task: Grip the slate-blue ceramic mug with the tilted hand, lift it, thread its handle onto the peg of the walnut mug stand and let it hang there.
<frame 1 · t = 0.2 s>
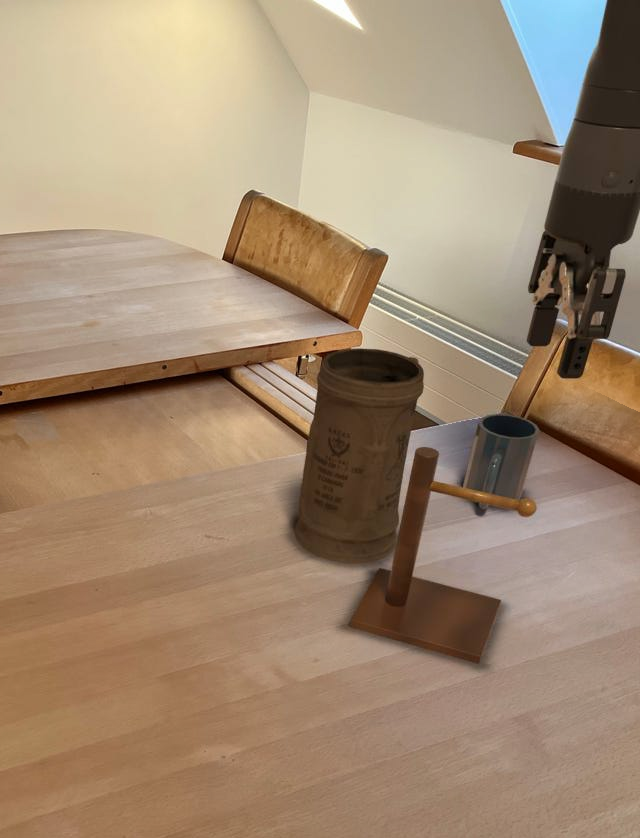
hand: (552, 360, 94), 19 cm above the table, tool pointing down, fingers open, 8 cm apart
mug: (489, 498, 112), on the table
mug stand: (393, 613, 93), on the table
beer stein: (351, 533, 105), on the table
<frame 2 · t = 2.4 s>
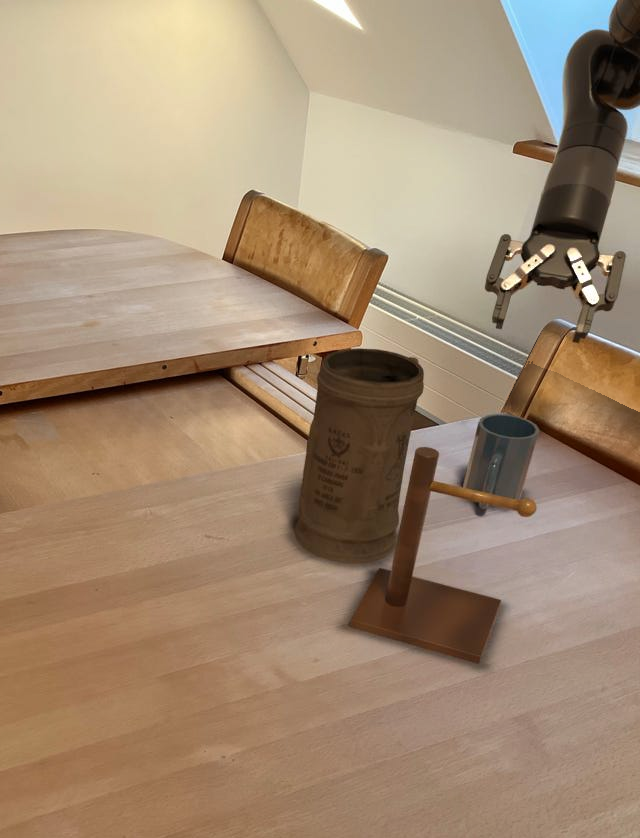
hand: (537, 332, 110), 16 cm above the table, tool tilted 45°, fingers open, 8 cm apart
nothing on the table moved.
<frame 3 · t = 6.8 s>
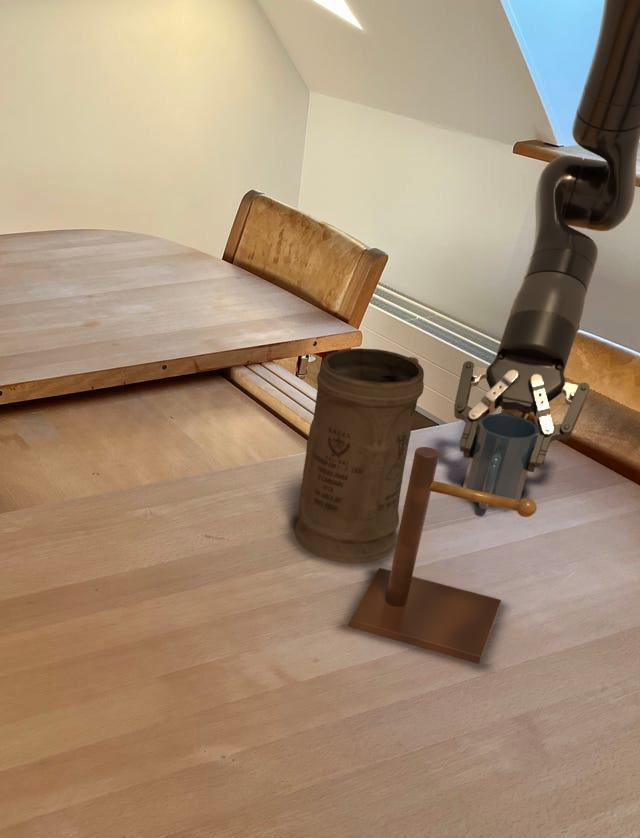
hand: (498, 461, 107), 5 cm above the table, tool tilted 45°, fingers closed on mug, 6 cm apart
mug: (489, 498, 112), on the table, touching gripper
everything else where it was.
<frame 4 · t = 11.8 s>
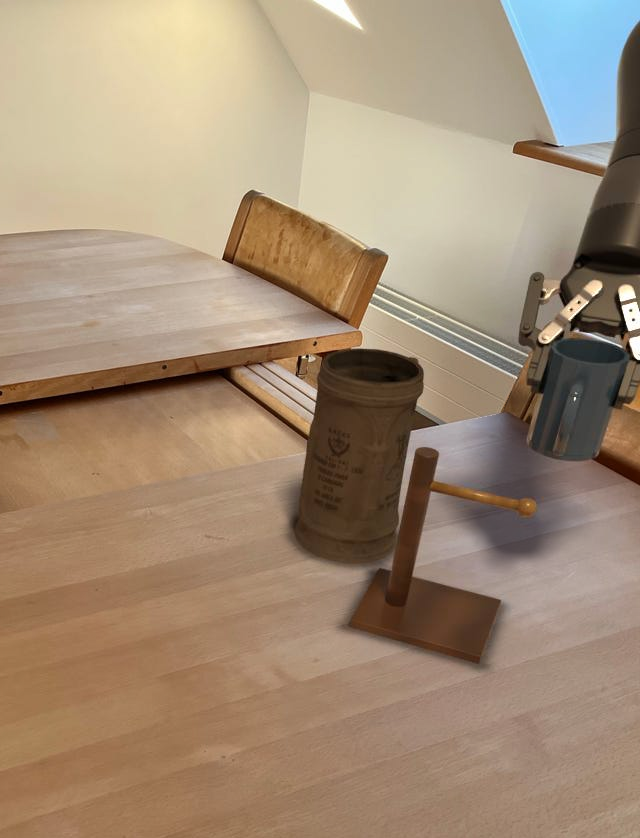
hand: (576, 397, 85), 20 cm above the table, tool tilted 45°, fingers closed on mug, 6 cm apart
mug: (562, 445, 89), point 15 cm above the table, touching gripper
everything else where it was.
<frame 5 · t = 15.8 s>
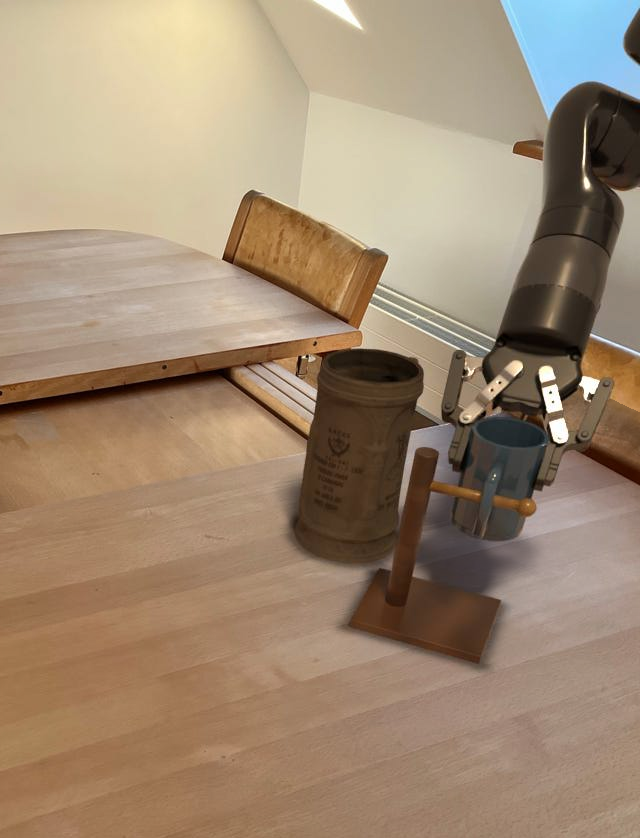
hand: (497, 478, 84), 15 cm above the table, tool tilted 45°, fingers closed on mug, 6 cm apart
mug: (486, 523, 89), point 9 cm above the table, touching gripper
everything else where it was.
when the fingers open (13 cm above the table, at t = 17.2 s): mug drops 2 cm and tips over, resting on mug stand.
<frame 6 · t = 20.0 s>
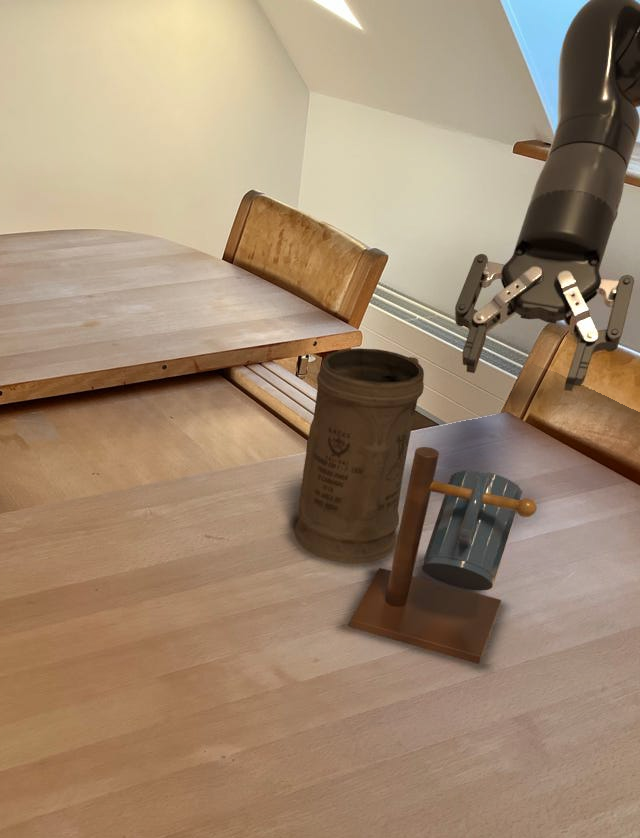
hand: (519, 378, 86), 21 cm above the table, tool tilted 45°, fingers open, 8 cm apart
mug: (456, 577, 87), point 6 cm above the table, tilted 48°, touching mug stand
everything else where it was.
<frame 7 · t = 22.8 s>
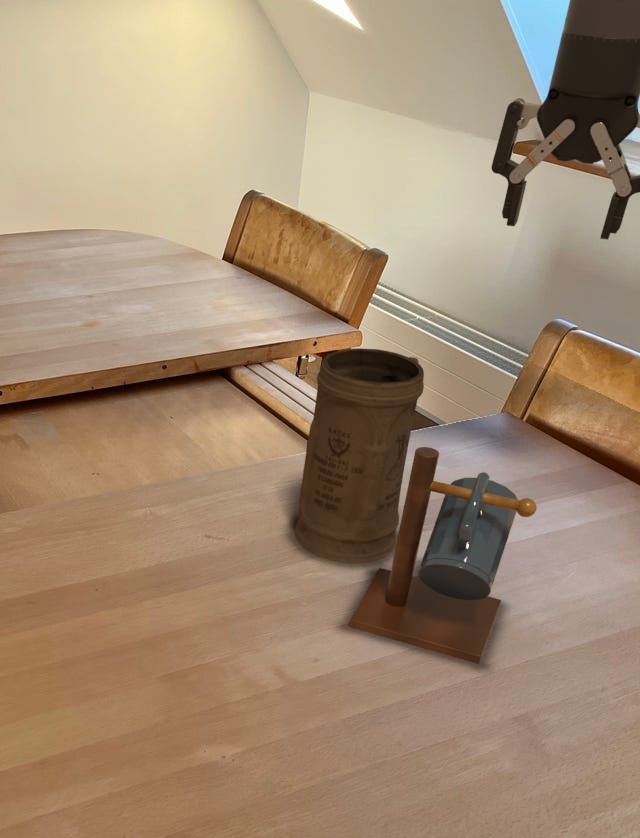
hand: (557, 230, 92), 30 cm above the table, tool pointing down, fingers open, 8 cm apart
mug: (454, 582, 86), point 6 cm above the table, tilted 57°, touching mug stand
everything else where it was.
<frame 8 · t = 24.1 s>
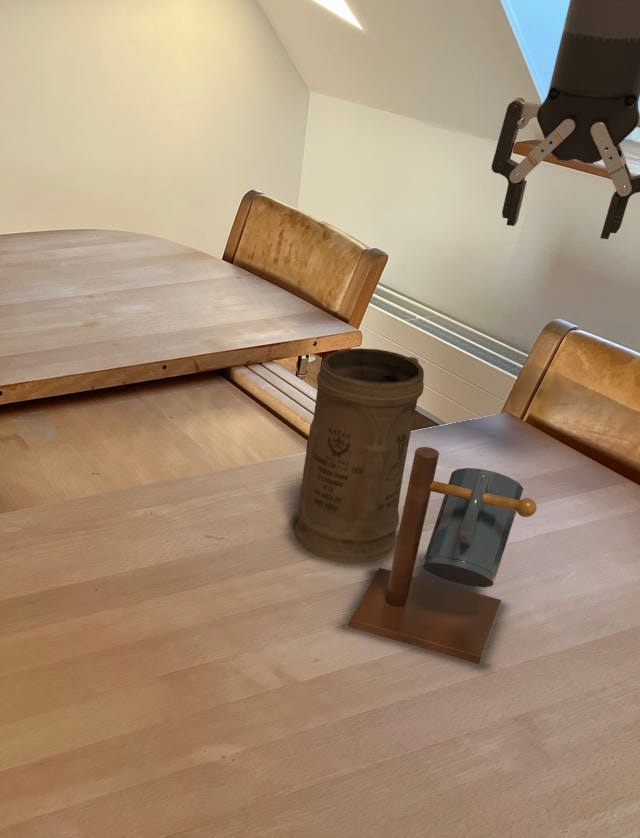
hand: (557, 230, 92), 30 cm above the table, tool pointing down, fingers open, 8 cm apart
mug: (457, 575, 87), point 6 cm above the table, tilted 44°, touching mug stand
everything else where it was.
at the end: mug touching mug stand; the gripper is holding nothing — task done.
